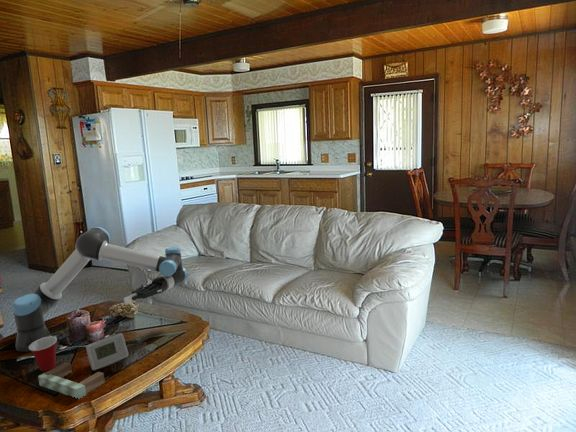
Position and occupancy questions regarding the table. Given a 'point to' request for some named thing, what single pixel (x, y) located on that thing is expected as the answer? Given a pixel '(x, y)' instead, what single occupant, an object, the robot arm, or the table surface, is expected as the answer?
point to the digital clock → (107, 351)
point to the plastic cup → (44, 352)
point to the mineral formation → (124, 309)
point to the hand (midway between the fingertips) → (125, 301)
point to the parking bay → (68, 387)
